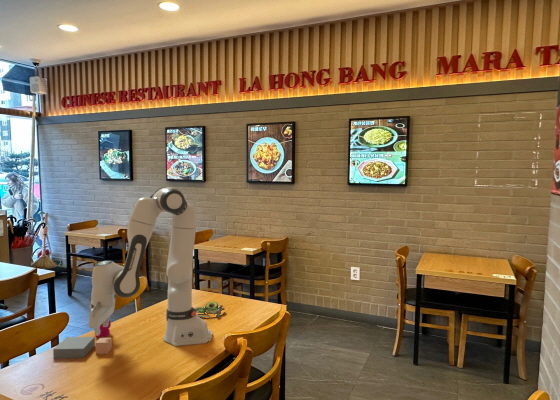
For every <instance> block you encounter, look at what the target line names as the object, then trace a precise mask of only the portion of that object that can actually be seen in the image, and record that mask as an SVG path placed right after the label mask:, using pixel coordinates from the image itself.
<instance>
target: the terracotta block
mask: <svg viewBox="0 0 560 400" xmlns="http://www.w3.org/2000/svg"><path fill="white" fill-rule="evenodd" d="M112 340H113V339H112V337H98V339H97V340H96V341H95V355H108V354H109V353H110V351H112V348H113V346H112V345H113V343H112V342H113V341H112Z"/></svg>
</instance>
